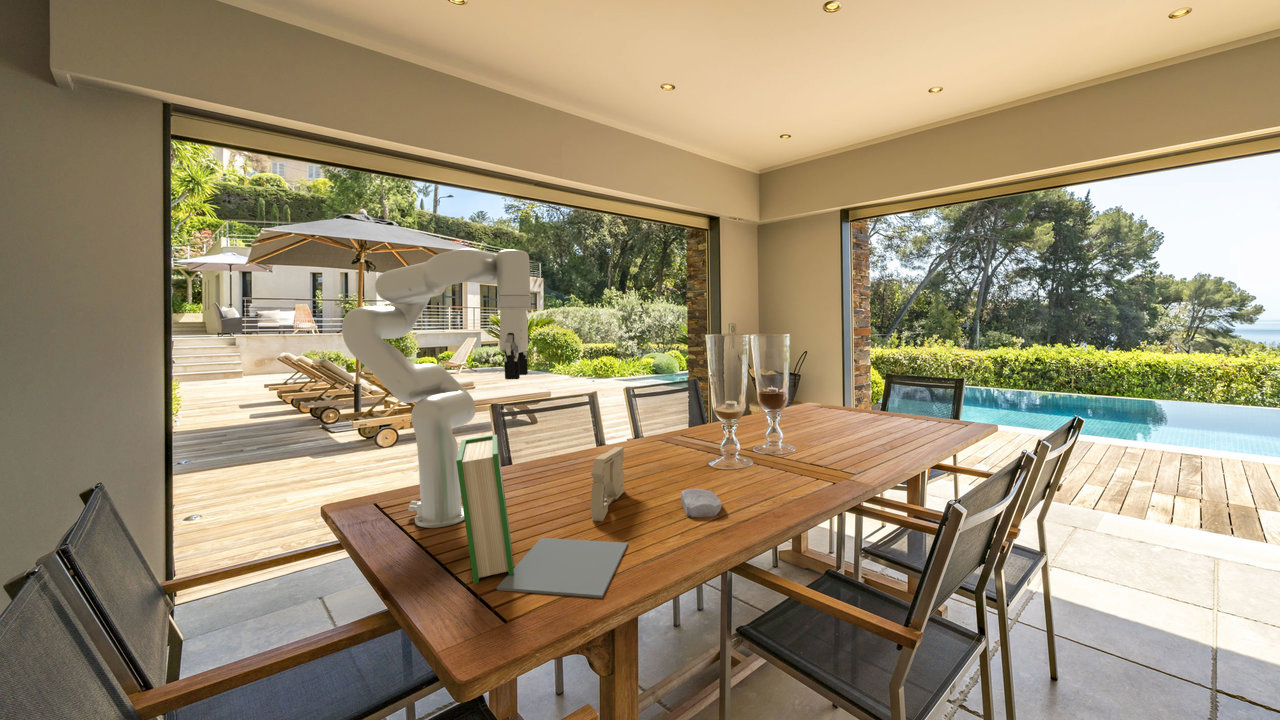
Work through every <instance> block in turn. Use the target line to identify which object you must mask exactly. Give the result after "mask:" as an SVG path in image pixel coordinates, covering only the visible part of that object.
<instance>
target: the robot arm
mask: <svg viewBox="0 0 1280 720" xmlns="http://www.w3.org/2000/svg"><path fill="white" fill-rule="evenodd" d="M530 269H531V268H530V256H529V253H528V252H526V251H525V250H521V249H503V250H500V251H498V252H497V253H496V252H495V253H494V252H491V251H490V252H489V251H484V250H481V249H480V250H479V249H475V248H469V247H466V248H459V249H458V248H457V249H454V250H449V251H445V252H442V253H438V254H435V255H433V256H432V257H431V258H429V259H427V261H424V262H420V263H419V262H418V263H416V264H411V265H407V266H403V267H399V268H393V269H390V270H387V271H385V272H383V273H381V274H380V275H378V277H377V279H376V280H375V283H374V284H375V285H374V287H375V292H376V294H377V295H378V297H380V299H382V300H384V301H385V302H387V303H389V304H392V305H391V306H374V305H373V306H372V305H368V306H367V305H366V306H360V307H356V308H353V309H351V310H350V311H348V312H347V313H346V314H345V316H344V317H343V319H342V324H341V333H342V338H343V341H344V344H345V346H346V347H347V349H348V350H349V352H350V353H351V354H352V355H353V356H354V357H355V358H356V359H357V360H358V361H359V362H360V363H361V365H364V366H365V368H367V369H368V370H369V371H370V372H371V373H372V374H373V376H375V378H376V379H377V380H378V381H379V382H380V383H381V384H382V385H383V386H384V388H386V389H387V391H388V392H390V394H391V395H392V396H393V397H394V398H395V399H397V400H398V401H400V402H401V403H405V404H406V403H407V404H410V403H415V404H414V406H413V408H412V410H411V424H412V428H413V431H414V435H415V439H416V447H417V460H418V477H419V478H418V479H419V481H418V482H419V494H420V495H419V496H420V500H411V501H409V506H408V508H407V511H409V512H416V513H417V514H416V515H415V517H414V524H415V525H416V526H417V527H421V528H424V529H425V528H428V529H433V528H434V529H435V528H437V529H438V528H442V527H449V526H452V525H455V524H458V523H461V522H463V521H465V519H464V512H463V506H462V498H461V491H460V484H459V477H458V470H457V462H456V459H457V456H458V452H459V445H458V444H459V443H458V441H457V439H456V437H455V435H454V433H453V429H456V428H458V427H462V426H464V425H466V424H468V423H469V422H471V421H472V420H473V419H474V418H475V415H476V410H477V409H476V408H477V407H476V402H475V401H474V398H473V397H472V395H471V394H470V393H469V392H468V391H467V390H466V388H465V387H463V386H462V384H461V383H459V381H457V380H456V378H454V376H453V375H451V373H450V372H449V371H447V370H446V369H445V368H444V367H443V366H440V365H439V364H435V363H431V362H430V363H428V362H427V363H414V362H412V361H411V360H410V359H408V358H407V356H405V354H403V352H402V351H401V350H400V349H398V348H397V347H396V346H394V345H392V344H390V343H389V342H387V341H385V340H389V339H391V340H392V339H399V338H403V337H405V336H407V334H409V333H410V332H411V331H412V329H413V328H414V326H415V325H416V324H417V322H418V320H419V319H420V317H421V315H422V313H423V312H424V310H425V309H426V308H427V306H428V304H429V302H430V300H431V298H434V297H439V296H440V295H442V294H444V292H445V291H446V288H447V286H452V285H457V284H461V283H476V284H484V285H496V289H497V290H496V291H497V292H496V293H497V311H500V319H499V351H500V353H502V354H504V359H503V360H504V379H505V380H519V379H520V376H527V375H528V373H529V372H528V371H529V369H528V353H527V350H528V348H529V329H528V327H529V326H528V325H529V324H528V315H527V311H531V310H532V304H531V303H532V302H531V275H530V274H531V272H530V271H531V270H530Z"/></svg>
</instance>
